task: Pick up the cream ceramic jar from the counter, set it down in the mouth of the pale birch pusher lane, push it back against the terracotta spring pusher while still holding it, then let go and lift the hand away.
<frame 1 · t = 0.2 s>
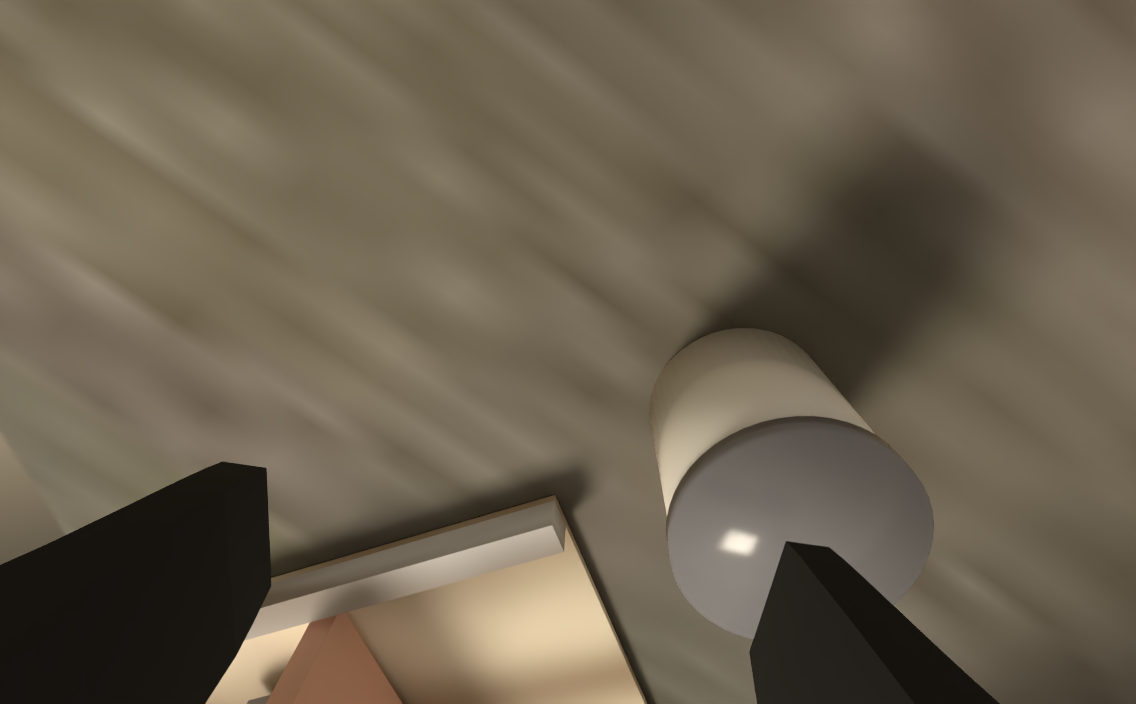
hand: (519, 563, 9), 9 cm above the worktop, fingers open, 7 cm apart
jar: (736, 409, 18), on the worktop
lane: (357, 700, 23), on the worktop
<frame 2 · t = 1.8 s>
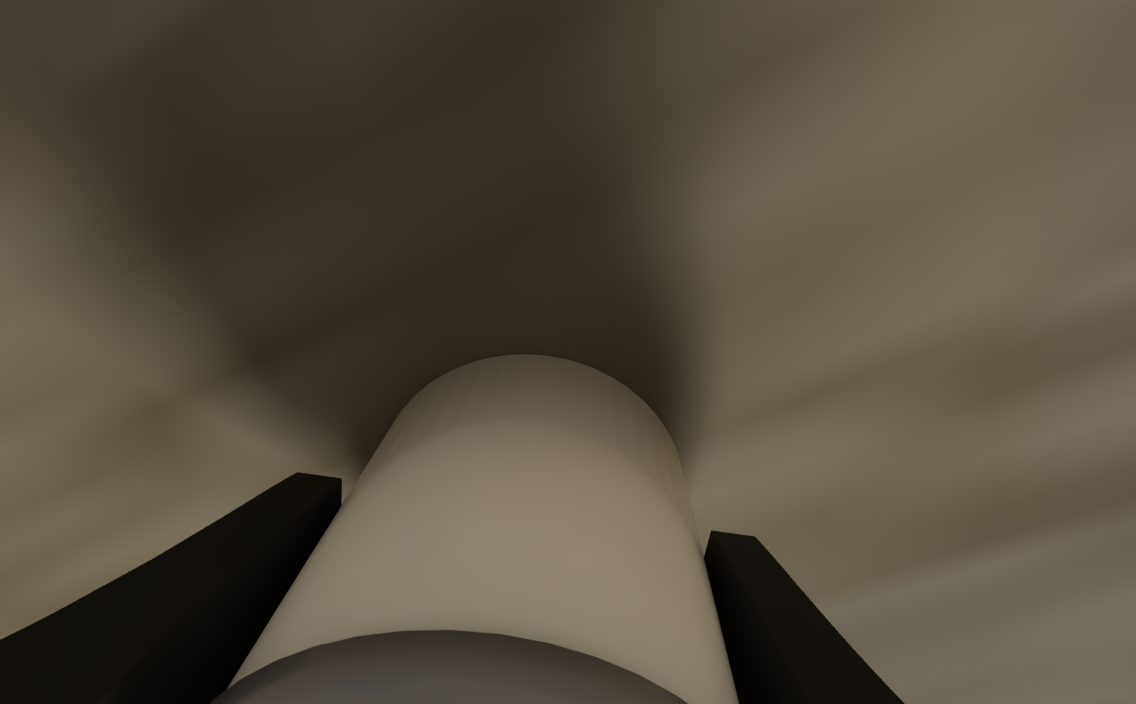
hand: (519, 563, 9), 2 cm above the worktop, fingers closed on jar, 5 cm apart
jar: (530, 496, 10), on the worktop, touching gripper
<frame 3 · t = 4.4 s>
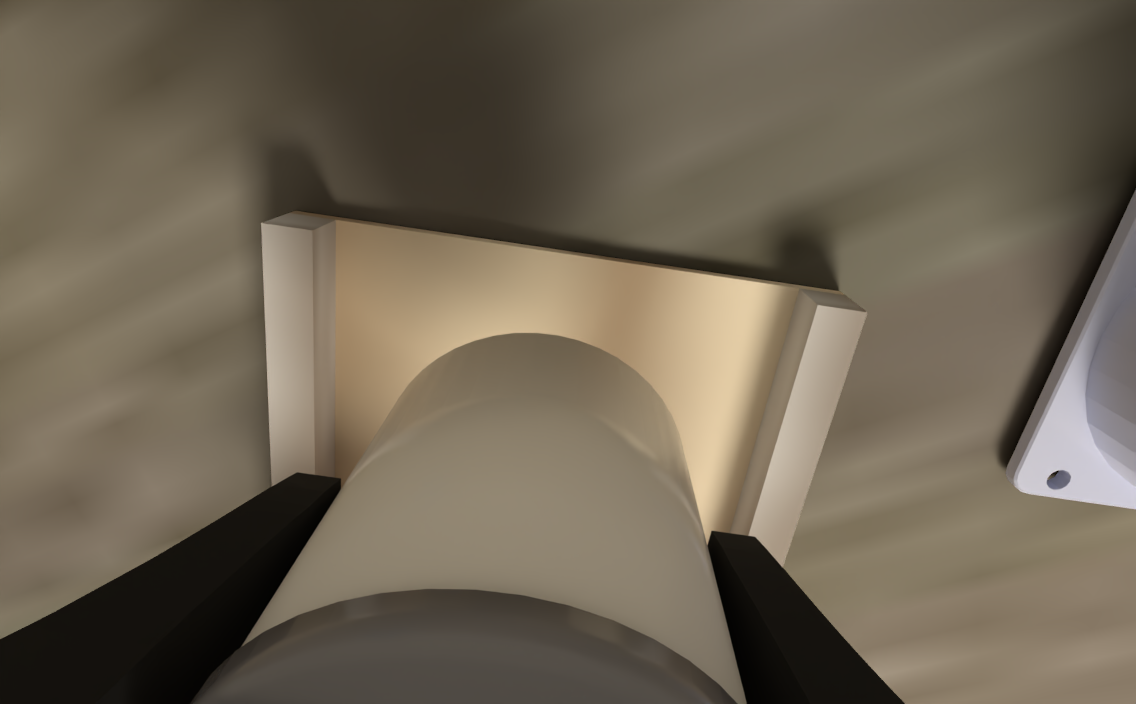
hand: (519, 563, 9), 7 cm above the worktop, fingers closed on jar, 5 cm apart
jar: (532, 473, 10), point 5 cm above the worktop, touching gripper
lane: (518, 605, 17), on the worktop
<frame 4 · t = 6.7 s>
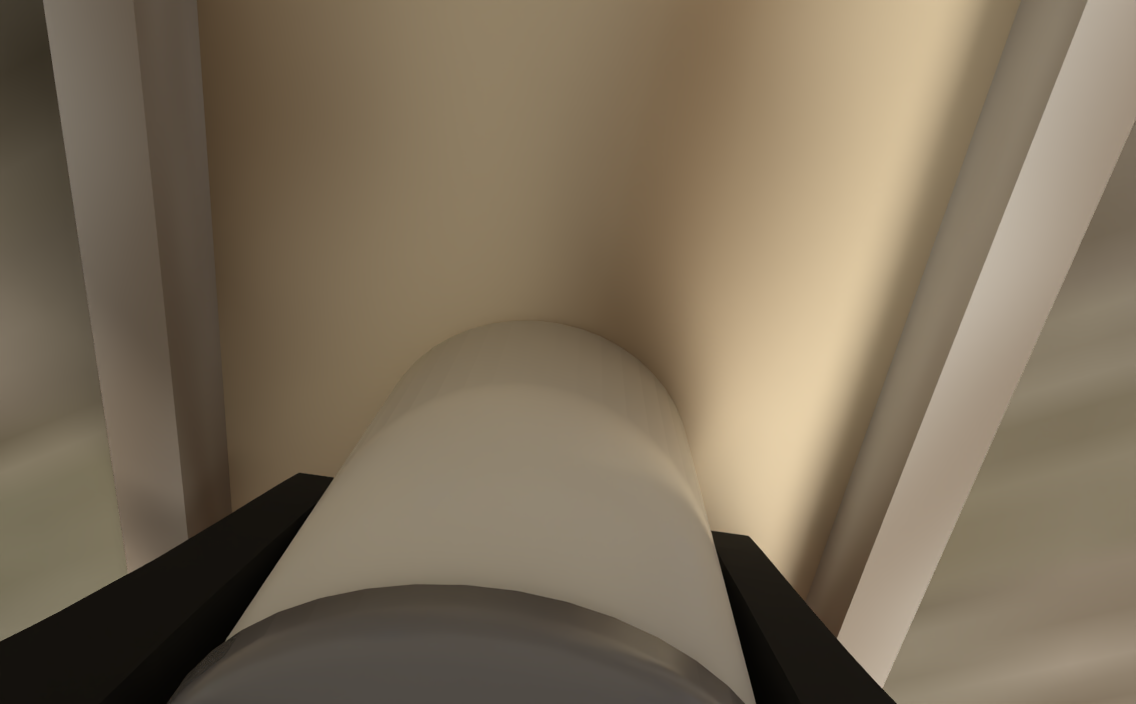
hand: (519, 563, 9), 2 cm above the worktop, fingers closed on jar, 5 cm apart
jar: (532, 466, 10), resting on lane, touching gripper, pusher
lane: (522, 554, 11), on the worktop
when the fingers open (2 cm above the worktop, at t = 7.0 s): jar stays where it is, resting on lane.
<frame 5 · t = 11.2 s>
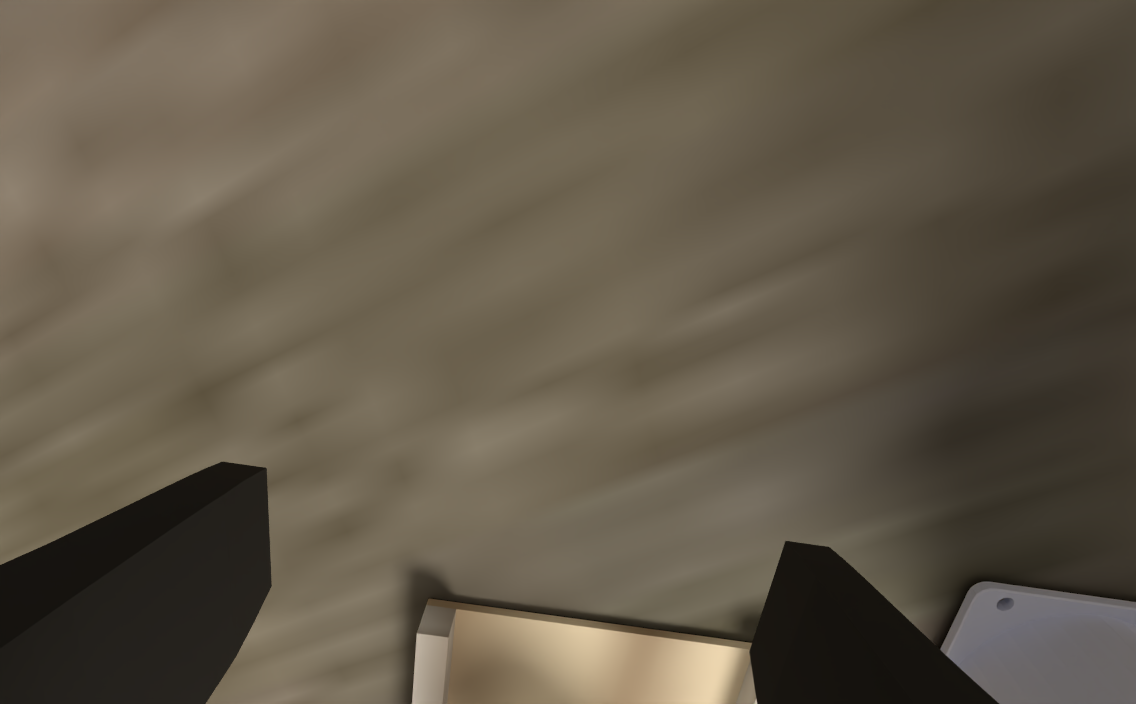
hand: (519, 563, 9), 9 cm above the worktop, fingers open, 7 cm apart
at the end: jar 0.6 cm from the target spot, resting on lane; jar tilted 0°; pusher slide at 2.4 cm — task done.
